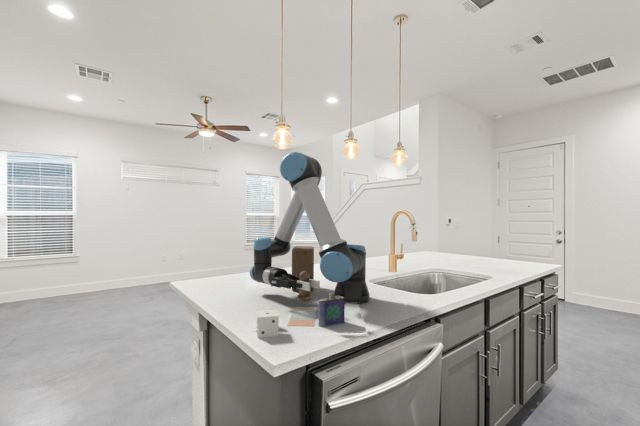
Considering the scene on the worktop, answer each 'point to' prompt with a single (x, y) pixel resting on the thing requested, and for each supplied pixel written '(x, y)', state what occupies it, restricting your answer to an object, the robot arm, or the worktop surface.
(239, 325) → the worktop surface
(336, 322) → the flask
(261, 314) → the white die
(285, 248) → the robot arm
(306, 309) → the board
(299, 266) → the wooden block
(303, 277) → the pawn
